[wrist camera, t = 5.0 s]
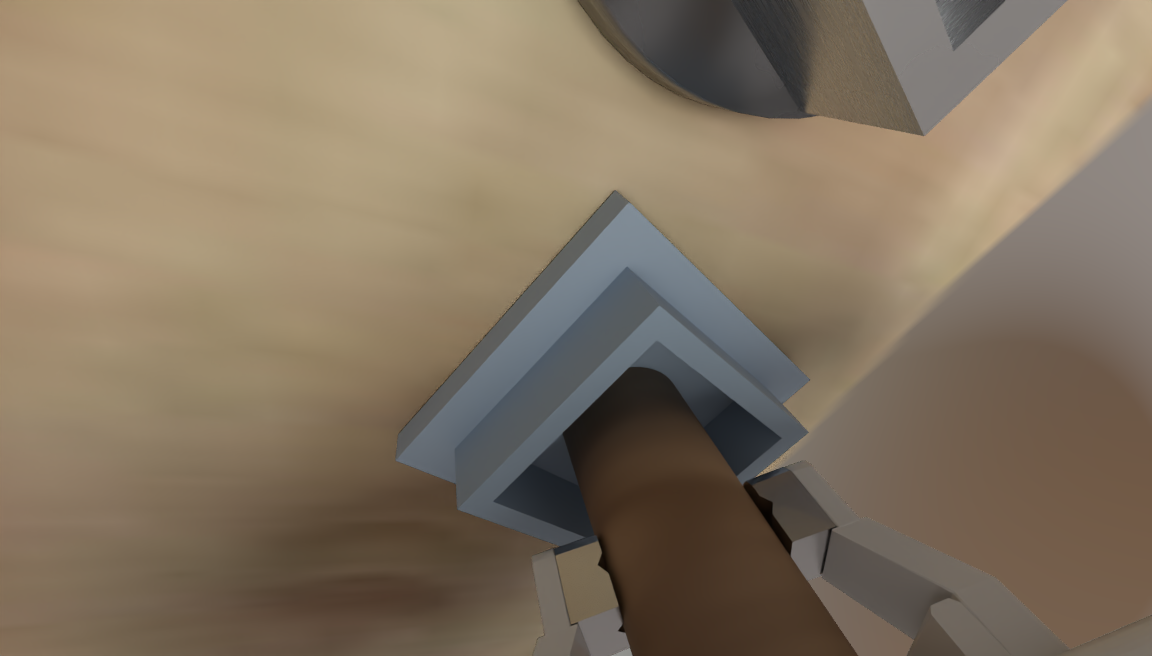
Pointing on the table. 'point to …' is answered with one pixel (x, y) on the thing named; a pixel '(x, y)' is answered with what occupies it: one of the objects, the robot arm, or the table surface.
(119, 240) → the table surface
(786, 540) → the robot arm
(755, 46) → the hub
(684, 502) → the peg
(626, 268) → the stand
